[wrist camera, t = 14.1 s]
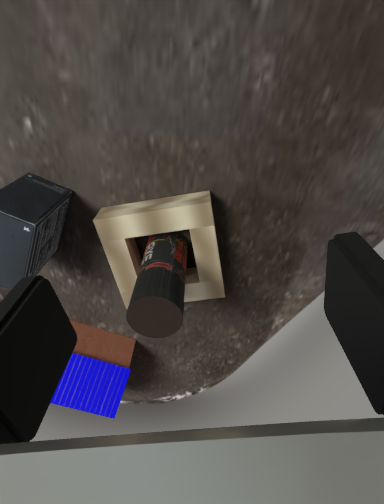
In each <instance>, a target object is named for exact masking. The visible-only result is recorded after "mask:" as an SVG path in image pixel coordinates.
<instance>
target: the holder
mask: <svg viewBox="0 0 384 504" xmlns="http://www.w3.org/2000/svg"><path fill="white" fill-rule="evenodd" d="M93 222H94V225H95V227H96V230H97V233H98V235H99V238H100V240H101V243H102V246H103V248H104V251H105V254H106V256H107V259H108V262H109V264H110V267H111V269H112V272H113V275H114V277H115V280H116V283H117V285H118V288H119V291H120V293H121V296H122V299H123V301H124V304H125V306H126V309H128V306H129V303H130V299H131V296H132V293H133V289H134V286H135V283H136V279H137V276H138V273H139V269H140V266H141V263H142V261H141V257H140V254H139V251H138V248H137V245H136V241H135V238H134V237H139V236H146V235H152V234H159V233H166V232H173V231H180V230H187V229H189V231H190V236H191V241H192V245H193V250H194V255H195V260H196V265H197V267H194V268H187V269H186V280H185V295H184V302H189V301H197V300H205V299H214V298H222V297H225V292H224V284H223V276H222V269H221V263H220V256H219V250H218V243H217V236H216V230H215V223H214V216H213V210H212V203H211V196H210V191H204V192H197V193H191V194H185V195H179V196H172V197H166V198H160V199H154V200H147V201H141V202H135V203H129V204H122V205H116V206H110V207H104V208H101V209H100V211H99V212H98V214H97V215H96V217H95V218H94V219H93Z"/></svg>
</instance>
